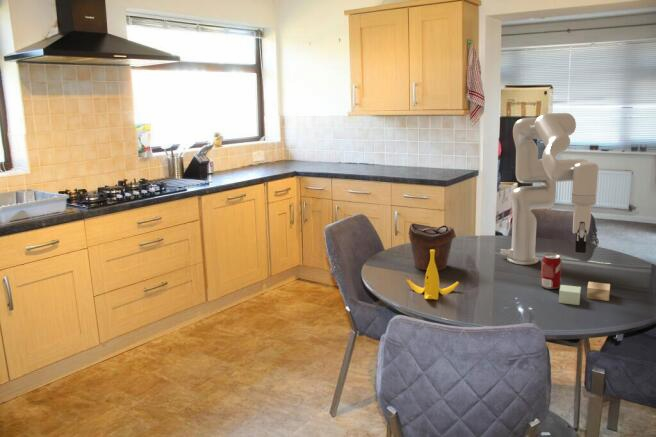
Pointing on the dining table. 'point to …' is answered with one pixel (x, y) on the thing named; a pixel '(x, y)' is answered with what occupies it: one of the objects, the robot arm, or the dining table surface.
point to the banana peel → (432, 282)
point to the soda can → (551, 271)
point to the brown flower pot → (430, 244)
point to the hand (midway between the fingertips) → (580, 248)
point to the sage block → (569, 294)
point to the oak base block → (598, 291)
